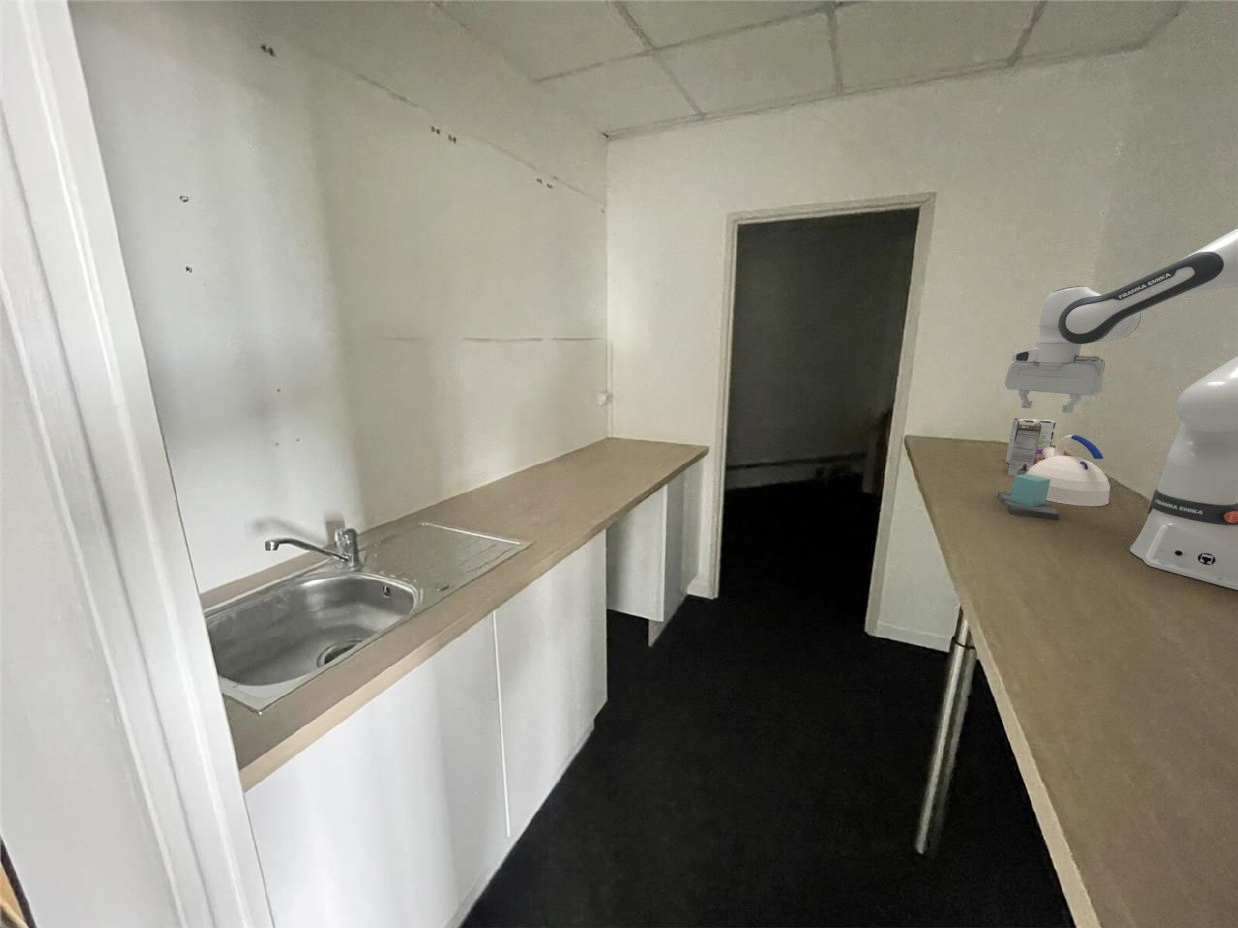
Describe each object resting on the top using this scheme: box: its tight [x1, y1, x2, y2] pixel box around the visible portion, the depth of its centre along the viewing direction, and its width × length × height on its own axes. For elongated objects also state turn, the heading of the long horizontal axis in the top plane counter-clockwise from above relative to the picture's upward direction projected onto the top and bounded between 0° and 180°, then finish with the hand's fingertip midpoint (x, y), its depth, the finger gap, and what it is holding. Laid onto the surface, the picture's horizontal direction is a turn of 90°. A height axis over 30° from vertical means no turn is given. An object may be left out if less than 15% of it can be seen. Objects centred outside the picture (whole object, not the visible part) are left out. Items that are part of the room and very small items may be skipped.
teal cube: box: [1010, 474, 1051, 507], centre depth 141 cm, size 6×6×7 cm
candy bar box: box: [1005, 418, 1057, 466], centre depth 184 cm, size 11×5×16 cm, turn 73°
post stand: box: [996, 491, 1060, 521], centre depth 141 cm, size 16×10×8 cm, turn 156°
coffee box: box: [1007, 424, 1041, 477], centre depth 172 cm, size 9×6×16 cm
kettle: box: [1026, 434, 1111, 507], centre depth 151 cm, size 20×21×18 cm
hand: (1045, 410), depth 134 cm, fingers open, 8 cm apart
